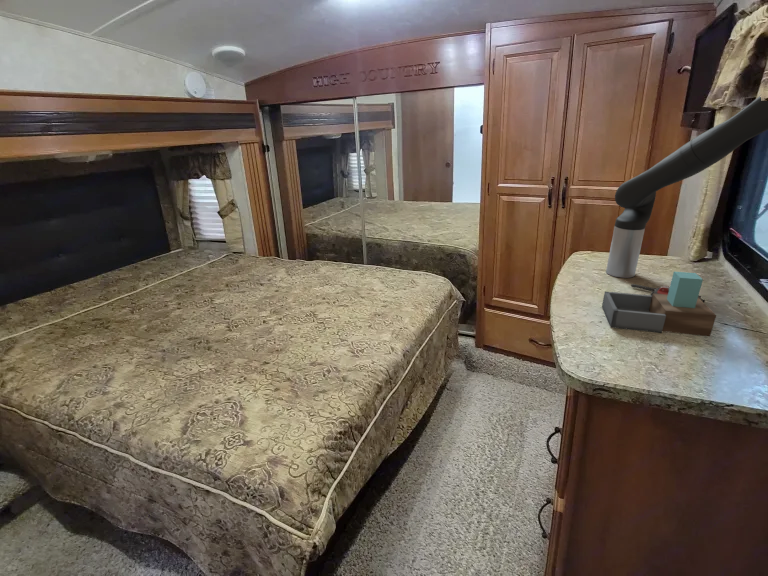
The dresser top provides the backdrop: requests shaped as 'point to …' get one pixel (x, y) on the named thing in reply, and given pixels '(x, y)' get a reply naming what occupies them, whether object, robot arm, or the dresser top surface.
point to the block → (684, 289)
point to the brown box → (683, 316)
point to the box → (631, 312)
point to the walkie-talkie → (657, 290)
